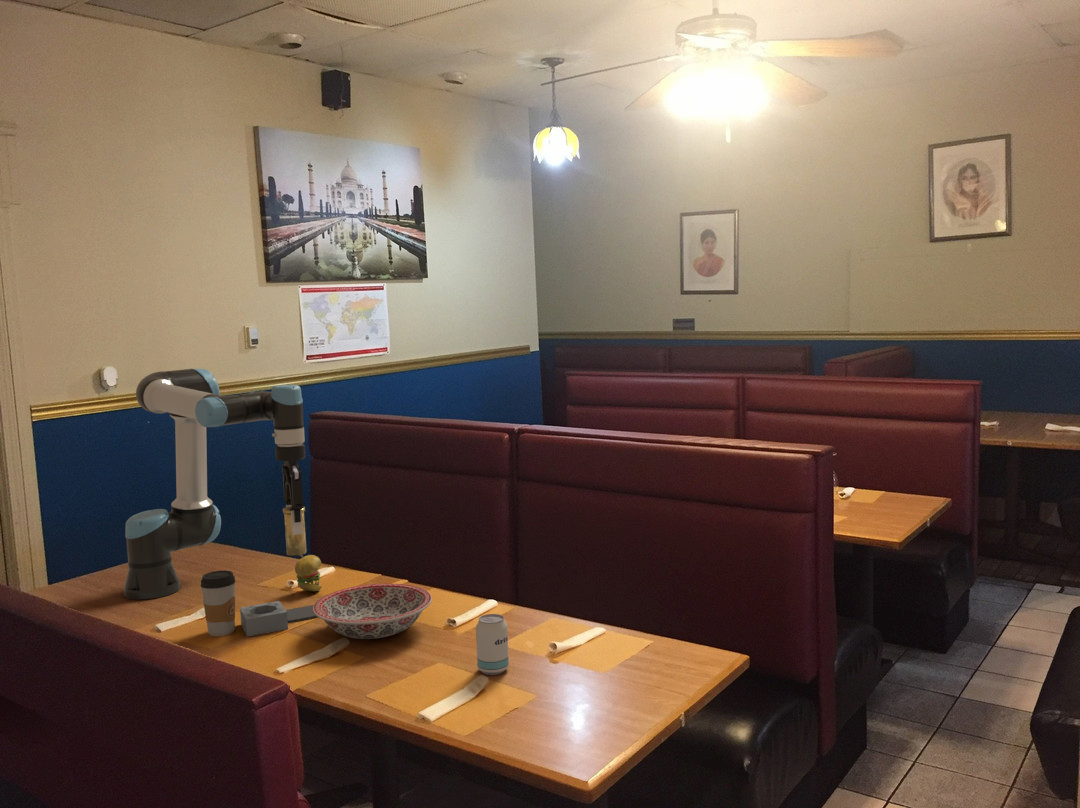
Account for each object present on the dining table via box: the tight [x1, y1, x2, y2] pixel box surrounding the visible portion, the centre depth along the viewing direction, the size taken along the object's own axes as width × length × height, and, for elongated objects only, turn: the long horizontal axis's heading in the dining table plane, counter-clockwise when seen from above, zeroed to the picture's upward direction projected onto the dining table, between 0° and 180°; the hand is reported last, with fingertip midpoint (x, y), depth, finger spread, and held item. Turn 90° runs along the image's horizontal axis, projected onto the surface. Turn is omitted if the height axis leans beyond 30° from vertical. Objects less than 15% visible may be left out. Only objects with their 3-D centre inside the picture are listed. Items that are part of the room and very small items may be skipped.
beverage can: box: [475, 613, 510, 676], centre depth 196 cm, size 7×7×12 cm
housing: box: [239, 600, 289, 637], centre depth 228 cm, size 10×10×4 cm
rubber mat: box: [285, 604, 319, 624], centre depth 236 cm, size 9×9×1 cm
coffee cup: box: [200, 569, 237, 637], centre depth 225 cm, size 8×8×15 cm
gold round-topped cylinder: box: [282, 506, 307, 557], centre depth 234 cm, size 6×6×12 cm
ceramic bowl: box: [313, 583, 433, 640], centre depth 222 cm, size 29×29×8 cm
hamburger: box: [294, 554, 322, 592], centre depth 255 cm, size 8×7×12 cm
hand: (295, 531), depth 234 cm, fingers closed on gold round-topped cylinder, 6 cm apart
